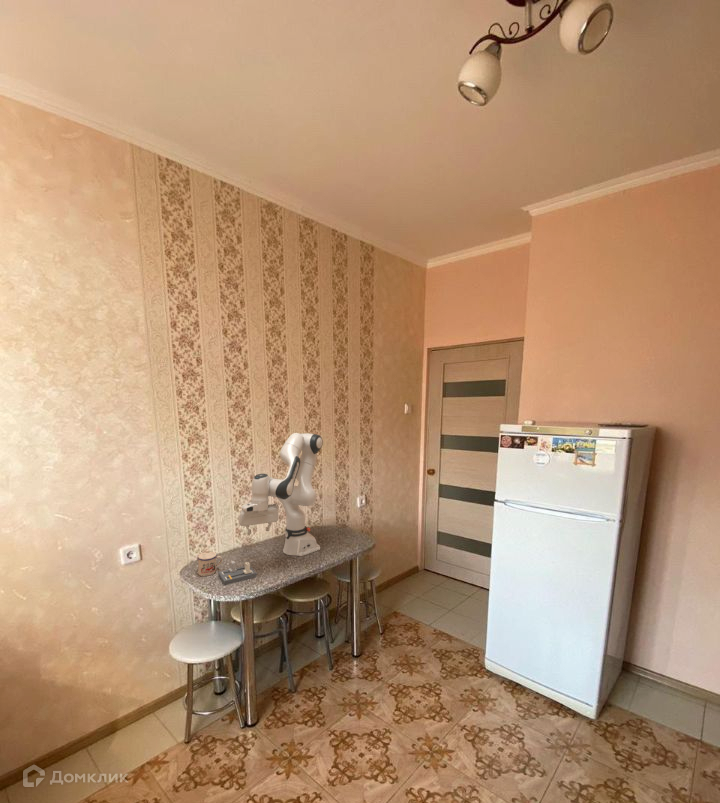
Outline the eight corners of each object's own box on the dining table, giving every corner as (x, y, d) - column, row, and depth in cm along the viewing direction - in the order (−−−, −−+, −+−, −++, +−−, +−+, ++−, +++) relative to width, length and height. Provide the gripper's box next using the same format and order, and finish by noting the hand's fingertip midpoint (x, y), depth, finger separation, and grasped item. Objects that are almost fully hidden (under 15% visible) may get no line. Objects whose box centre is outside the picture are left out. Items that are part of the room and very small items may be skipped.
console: (249, 568, 195) (249, 556, 195) (256, 576, 186) (256, 563, 186) (218, 576, 186) (218, 563, 186) (224, 585, 177) (224, 571, 177)
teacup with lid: (199, 578, 183) (200, 555, 183) (195, 571, 190) (196, 549, 190) (224, 572, 190) (224, 550, 190) (219, 565, 197) (220, 544, 197)
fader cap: (249, 570, 188) (249, 561, 188) (251, 572, 185) (251, 563, 185) (243, 571, 186) (243, 562, 186) (245, 574, 183) (245, 564, 183)
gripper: (277, 502, 198) (276, 527, 198) (238, 506, 188) (237, 533, 187) (280, 504, 193) (279, 531, 193) (241, 509, 182) (240, 536, 182)
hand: (258, 532), depth 190 cm, fingers open, 8 cm apart
